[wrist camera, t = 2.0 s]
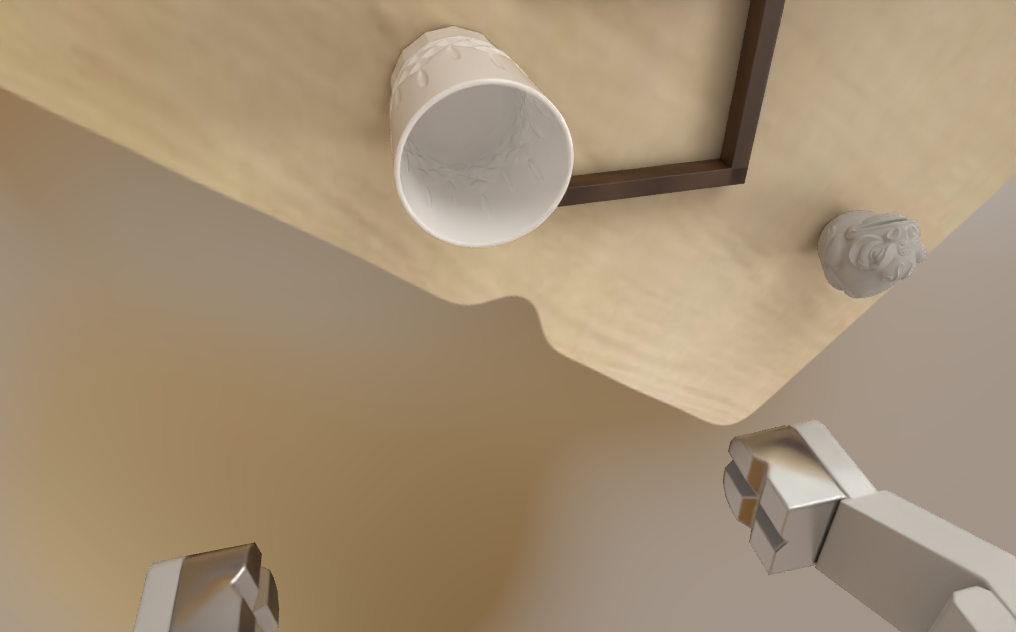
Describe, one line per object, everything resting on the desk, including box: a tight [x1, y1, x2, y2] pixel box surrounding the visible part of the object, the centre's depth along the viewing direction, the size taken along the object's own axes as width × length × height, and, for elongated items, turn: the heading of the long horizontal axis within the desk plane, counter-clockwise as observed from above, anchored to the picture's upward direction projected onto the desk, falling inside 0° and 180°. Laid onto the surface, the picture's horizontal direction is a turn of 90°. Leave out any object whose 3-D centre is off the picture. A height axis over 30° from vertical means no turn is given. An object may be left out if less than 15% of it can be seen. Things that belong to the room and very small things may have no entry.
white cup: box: [389, 26, 574, 248], centre depth 33 cm, size 8×8×10 cm
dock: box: [557, 0, 785, 207], centre depth 38 cm, size 13×14×2 cm
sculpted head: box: [818, 210, 927, 298], centre depth 46 cm, size 6×7×7 cm
